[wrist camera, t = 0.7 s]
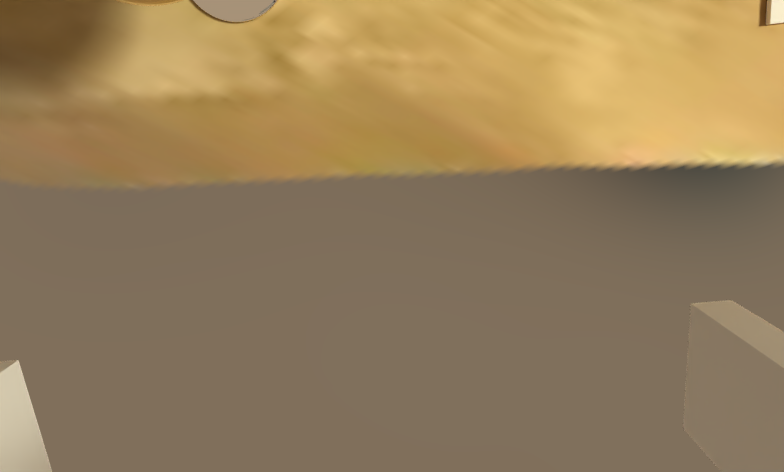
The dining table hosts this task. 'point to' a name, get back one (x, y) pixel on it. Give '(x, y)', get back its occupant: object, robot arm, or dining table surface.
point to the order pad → (775, 12)
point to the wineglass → (221, 7)
